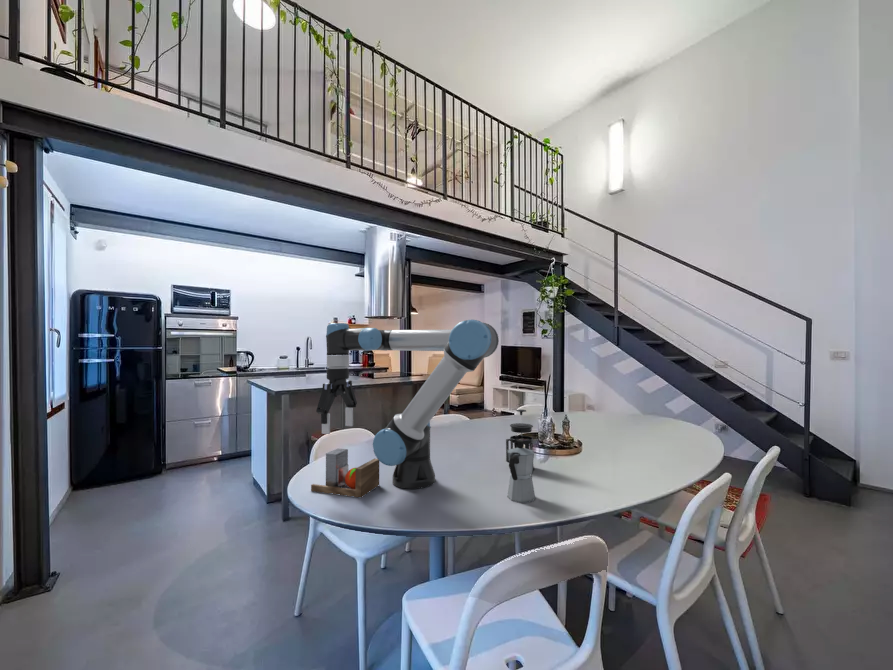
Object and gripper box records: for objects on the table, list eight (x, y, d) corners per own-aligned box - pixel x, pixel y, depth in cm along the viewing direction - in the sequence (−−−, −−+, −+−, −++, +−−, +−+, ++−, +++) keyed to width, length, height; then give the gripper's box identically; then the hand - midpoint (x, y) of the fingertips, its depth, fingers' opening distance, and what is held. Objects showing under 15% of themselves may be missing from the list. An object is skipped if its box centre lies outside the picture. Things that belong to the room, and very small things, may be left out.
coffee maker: (515, 488, 129) (514, 434, 130) (540, 493, 124) (540, 437, 125) (497, 504, 116) (497, 444, 117) (525, 510, 111) (524, 447, 112)
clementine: (359, 494, 124) (359, 472, 125) (339, 492, 126) (339, 471, 126) (369, 485, 132) (369, 465, 132) (350, 484, 134) (350, 463, 134)
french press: (528, 463, 157) (527, 407, 158) (540, 470, 148) (539, 410, 149) (501, 466, 154) (501, 408, 154) (512, 473, 145) (511, 412, 145)
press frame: (379, 485, 133) (379, 458, 133) (360, 497, 121) (361, 469, 122) (332, 479, 139) (332, 454, 139) (311, 491, 127) (311, 463, 128)
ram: (349, 484, 134) (349, 449, 134) (337, 491, 127) (337, 454, 128) (337, 482, 135) (338, 448, 136) (325, 489, 129) (325, 453, 129)
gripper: (348, 366, 146) (349, 422, 145) (304, 369, 122) (304, 436, 121) (366, 366, 144) (366, 423, 143) (324, 369, 120) (324, 437, 119)
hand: (338, 429), depth 132 cm, fingers open, 13 cm apart
